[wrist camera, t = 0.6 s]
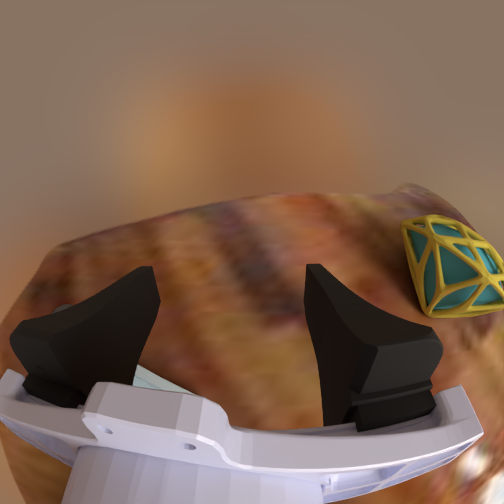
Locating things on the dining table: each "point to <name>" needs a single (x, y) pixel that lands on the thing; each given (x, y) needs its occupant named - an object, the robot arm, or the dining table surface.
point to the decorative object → (452, 268)
